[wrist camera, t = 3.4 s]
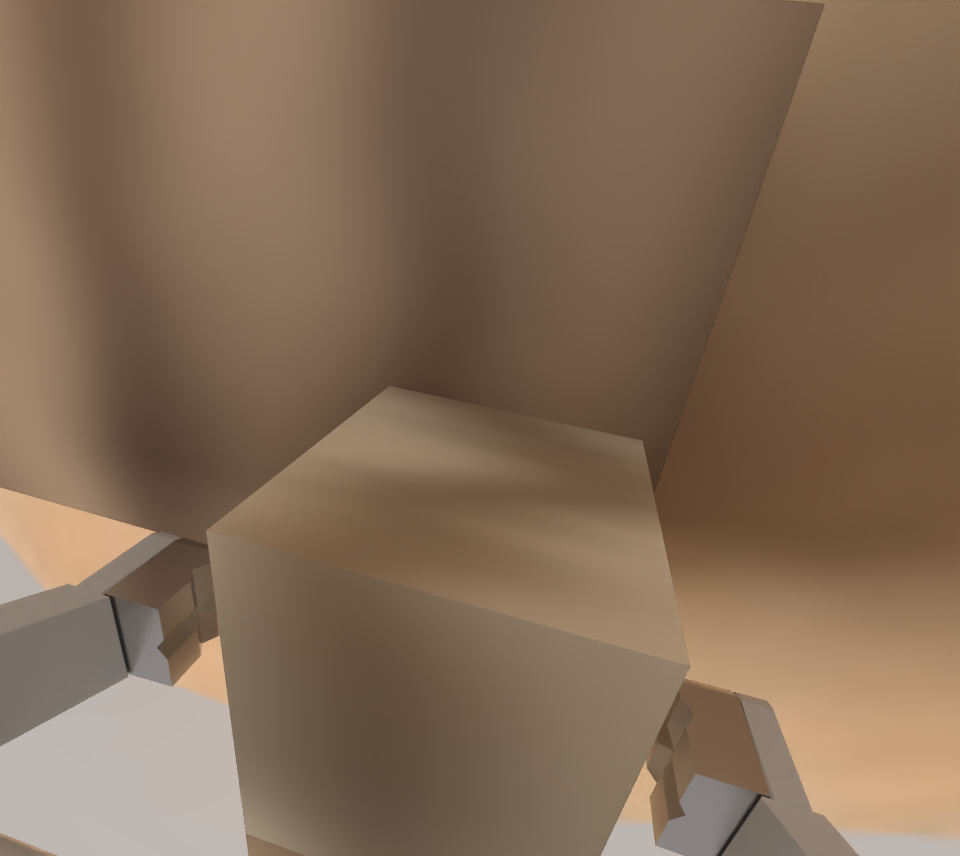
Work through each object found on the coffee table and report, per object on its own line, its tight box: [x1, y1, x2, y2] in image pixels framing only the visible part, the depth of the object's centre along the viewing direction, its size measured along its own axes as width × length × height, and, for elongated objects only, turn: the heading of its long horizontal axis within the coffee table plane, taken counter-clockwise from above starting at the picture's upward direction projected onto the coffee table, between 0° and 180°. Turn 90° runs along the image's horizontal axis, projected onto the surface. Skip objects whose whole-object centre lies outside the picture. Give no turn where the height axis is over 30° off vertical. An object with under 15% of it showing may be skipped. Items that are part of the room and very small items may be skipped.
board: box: [0, 0, 824, 545], centre depth 11 cm, size 22×12×2 cm, turn 82°
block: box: [206, 386, 690, 856], centre depth 9 cm, size 5×8×7 cm, turn 173°
